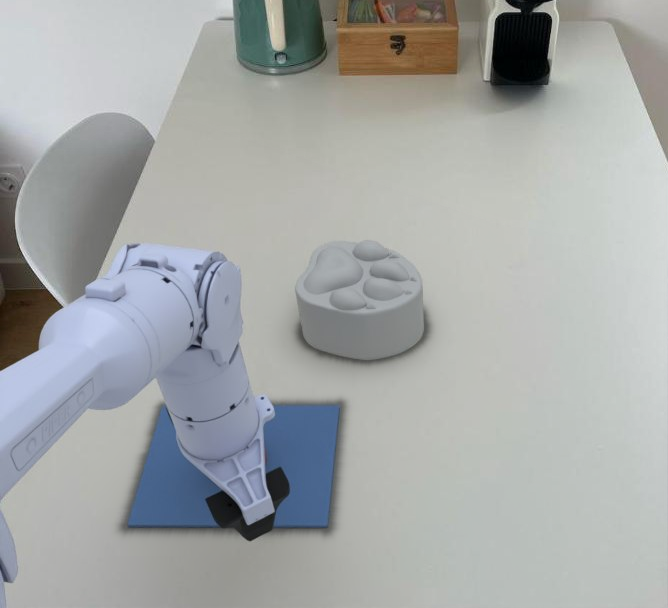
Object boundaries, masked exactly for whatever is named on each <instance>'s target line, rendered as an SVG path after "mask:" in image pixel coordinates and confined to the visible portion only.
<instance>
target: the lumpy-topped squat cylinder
mask: <svg viewBox="0 0 668 608" xmlns="http://www.w3.org/2000/svg"><path fill="white" fill-rule="evenodd" d="M423 289H424V285H423V279H422V276H421V274H420V272H419V271H418V269H417V267H416V266H415V265H414V264H413V263H412V262H411V261H410V260H409V259H407V258H406V257H405V256H404V255H402V254H400V253H399V252H397V251H396V250H393V249H390V248H387V247H385V246H383V245H382V244H381V243H379V242H378V241H376V240H372V239H366V240H362V241H360V242H356V241H346V240H333V241H329V242H326V243H324V244H321V245H320V246H318V247H316V248H315V249H314V250H313V252H312V253H311V256H310V259H309V262H308V265H307V267H306V269H305V270H304V272H303V273H302V274H301V275H300V276H299V278H298V279H297V280H296V282H295V285H294V292H295V296H296V303H297V309H298V314H299V319H300V324H301V330H302V336H303V338H304V340H305V342H306V343H307V344H308V345H309V346H311V347H312V348H314V349H316V350H318V351H322V352H324V353H328V354H331V355H335V356H338V357H344V358H348V359H354V360H362V361H373V360H379V359H384V358H388V357H393V356H396V355H400V354H402V353H404V352H406V351H407V350H409V349H411V348H413V347H414V346H415V345H416V344H417V343H419V341H420V340H421V339H422V338H423V335H424V331H425V317H424V316H425V313H424V290H423Z"/></svg>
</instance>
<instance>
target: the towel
mask: <svg viewBox="0 0 668 608" xmlns="http://www.w3.org/2000/svg"><path fill="white" fill-rule="evenodd" d="M272 405H273V407H274V411H275V416H274V418H272V419H271V420H269V421H267V422H266V423H265V424H264V426H263V433H264V443H265V447H266V452H267V462H266V465H265V474H266V473H268V472H270V471H272V470H274V469H276V468H278V467H281V468H282V470H283V471H284V473H285V475H286V477H287V479H288V481H289V485H290V494H289V495H288V496H287V497H286V498H285V499H284V500H283V501H282V502H281V504H280V505H279V506H278V508H277V511H276V515H275V521H274V525H273V528H317V529H318V528H320V529H321V528H322V529H323V528H324V529H325V528H328V527H329V519H330V508H331V499H332V487H333V478H334V467H335V459H336V458H335V457H336V446H337V437H338V429H339V427H338V426H339V417H340V408H341V407H340V405H338V404H327V405H326V404H318V405H317V404H315V405H314V404H313V405H311V404H309V405H307V404H305V405H304V404H300V405H299V404H295V405H293V404H292V405H290V404H289V405H287V404H285V405H282V404H281V405H279V404H278V405H275V404H272ZM166 407H167V406H166V405H161V409H160V413H159V416H158V418H157V421H156V426H155V429H154V432H153V436H152V439H151V442H150V446H149V450H148V453H147V456H146V458H145V459H146V460H145V463H144V467H143V470H142V473H141V477H140V480H139V482H138V487H137V490H136V494H135V497H134V500H133V504H132V507H131V510H130V513H129V517H128V521H127V524H126V525H127V527H128V528H221V527H220V526H219V525H218V524H217V523H216V522H215V521H214V519H213V517H212V514H211V512H210V510H209V507H208V505H207V503H206V500H205V499H206V498H208V497H210V496H212V495H214V494H216V493H218V492H220V491H222V489H221V488H220V487H219V486H218V485H216V484H215V483H214V482H213V481H212V480H211V479H210V478H208V477H207V476H206V475H205V474H204V473H203V472H201V471H200V470H199V469H198V468H197V467H196V466H194V465H193V464H192V463H191V462H190V461H189V460H188V459H187V458H186V457H185V456H184V455H183V454H182V452H181V450H180V448H179V446H178V442H177V439H176V429H175V427H174V425H173V424H172V422H171V419H170V417H169V415H168V413H167V409H166Z"/></svg>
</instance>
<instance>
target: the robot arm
mask: <svg viewBox="0 0 668 608" xmlns="http://www.w3.org/2000/svg"><path fill="white" fill-rule="evenodd" d="M111 262H112V263H111V264H110V267H109V269H108V270H107V273H106V274H105V275H104V276H102V277H101V278H97V279H95V280H93V281H92V282H90V283H88V284H87V285H86V286H85V287H84V291H85V292H84V294H83V295H82V296H80V297H78V298H76V299H75V300H73V301H72V302H69V304H67V305H65V306H64V307H62V308H61V309H59V310H57V311H56V312H54V314H52V315H51V316H50V317H49V318H48V319H47V320H46V322H45V324H44V325H43V327H42V329H41V331H40V334H39V340H38V350H37V351H35V352H33V353H31V354H29V355H27V356H26V357H24V358H22V359H20V360H18V361H16V362H15V363H13V364H11V365H9V366H7V367H5V368H4V369H2V370H0V503H1V501H2V500H3V498H4V497H5V496H6V495H8V493H9V492H11V490H12V489H13V488H14V487H15V486H16V484H18V483H19V482H20V480H21V479H22V478H23V477H24V476H25V475H26V474H27V473H28V472H29V471H30V470H31V469H32V468H33V467H34V466H35V465H36V463H37V462H39V460H41V458H42V457H43V456H44V455H45V454H46V453H47V452H48V451H49V450H50V449H51V448H52V447H53V446H54V444H56V443H57V442H58V441H59V440H60V439H61V437H63V436H64V434H65V433H66V432H67V431H68V430H69V429H70V428H71V427H72V426H73V425H74V424H75V423H76V422H77V421H78V420H79V419H80V418H81V416H82V415H83V414H84V413H85V412H86V411H87V410H88V409H89V410H94V411H111V410H114V409H118V408H120V407H122V406H125V405H126V404H128V403H129V402H130V401H131V400H133V399H134V398H135V397H136V396H137V395H138V394H139V393H140V392H141V391H143V389H145V388H146V387H147V386H148V385H149V384H151V382H152V381H154V380H156V382H157V385H158V388H159V390H160V393H161V396H162V397H163V401H164V403H165V406H167V407H166V409H167V413H168V415H169V417H170V419H171V422H172V424H173V425H174V427H175V429H176V439H177V442H178V446H179V448H180V450H181V452H182V454H183V455H184V456H185V457H186V458H187V459H188V460H189V461H190V462H191V463H192V464H193V465H194V466H196V467H197V468H198V469H199V470H200V471H201V472H203V473H204V474H205V475H206V476H207V477H208V478H210V479H211V480H212V481H213V482H214V483H215V484H216V485H218V486H219V487H220V488H221V489H222V491H220V492H218V493H216V494H214V495H212V496H210V497H208V498H206V499H205V500H206V503H207V505H208V507H209V510H210V512H211V514H212V517H213V519H214V521H215V522H216V523H217V524H218V525H219V526H220V527H219V528H221V529H233V530H235V531H236V532H238V534H239V535H240V536H241V537H242V538H243V539H244V540H246V541H247V542H252V541H254V540H256V539H257V538H258V539H259V537H262V536H264V535H266V534H268V533H269V532H271V531H273V529H274V527H273V525H274V521H275V515H276V511H277V508H278V506H279V505H280V504H281V502H282V501H283V500H284V499H285V498H286V497H287V496H288V495H289V494H290V485H289V481H288V479H287V477H286V475H285V473H284V471H283V470H282V468H281V467H278V468H276V469H274V470H272V471H270V472H268V473H266V474H265V454H264V433H263V426H264V424H265V423H266V422H267V421H269V420H271V419H272V418H274V416H275V411H274V407H273V405H274V404H273V403H272V401H271V400H270V398H269V396H268V395H266V394H264V393H261V394H258V395H256V396H254V393H253V389H252V386H251V382H250V379H249V374H248V370H247V366H246V362H245V359H244V354H243V351H242V347H241V344H240V343H241V342H240V339H241V337H242V335H243V332H244V331H243V329H244V328H243V324H244V320H243V316H242V310H241V299H242V285H243V283H242V282H243V281H242V280H243V279H242V272H241V266H240V265H236V264H235V263H234V262H232V261H230V260H229V261H228V258H227V257H226V256H225V254H224V253H223V252H220V251H216V250H209V249H199V248H193V247H192V248H191V247H183V246H176V245H167V244H159V243H151V242H143V243H139V242H132V243H129V244H128V243H125V244H123V245H122V246H121V248H120V249H118V251H117V253H116V255H115V256H114V257H113V260H112V261H111ZM17 556H18V555H17V548H16V544H15V540H14V537H13V534H12V532H11V528H10V527H9V525H8V522H7V520H6V517H5V516H4V512H3V511H2V508H1V507H0V608H7V607H8V606H7V605H8V604H7V596H6V587H5V583H7V584H13V583H14V582H15V580H16V578H17V576H18V572H19V565H18V557H17Z"/></svg>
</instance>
